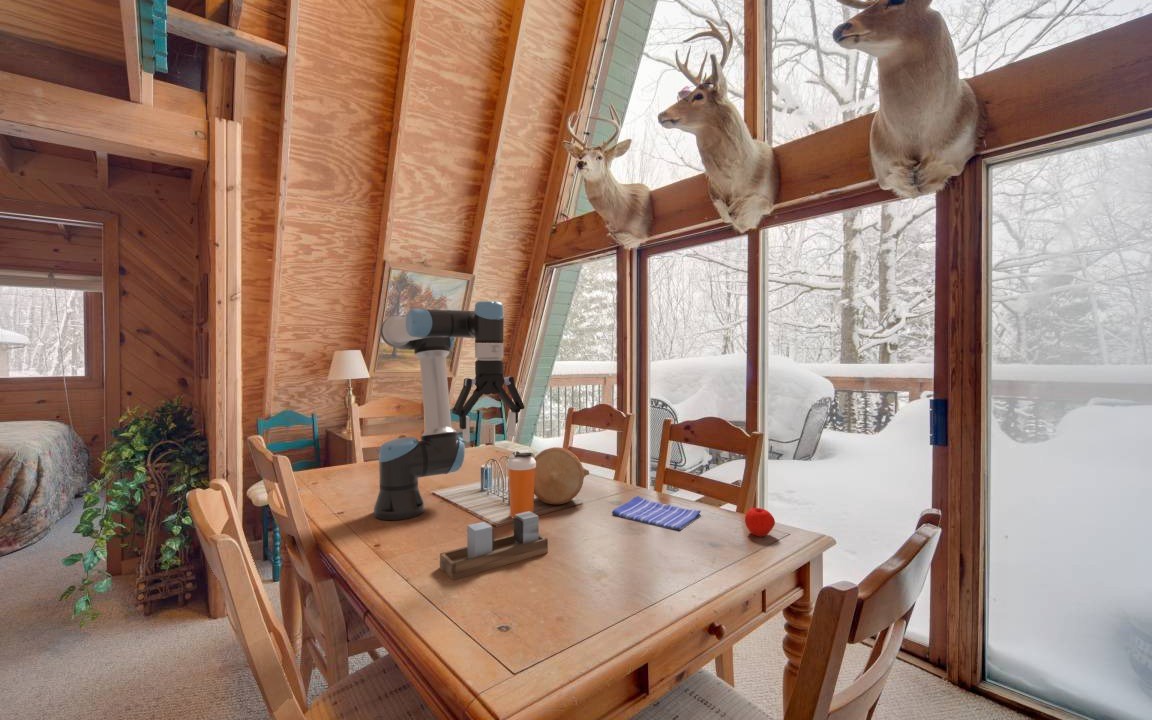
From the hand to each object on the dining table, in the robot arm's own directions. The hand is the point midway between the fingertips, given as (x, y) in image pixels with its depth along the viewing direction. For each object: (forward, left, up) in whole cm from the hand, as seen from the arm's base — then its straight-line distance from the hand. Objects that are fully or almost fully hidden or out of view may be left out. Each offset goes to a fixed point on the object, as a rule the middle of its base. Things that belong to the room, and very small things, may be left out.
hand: (489, 438), depth 137 cm
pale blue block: (+10, -8, -27) cm, 30 cm away
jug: (-24, +39, -29) cm, 54 cm away
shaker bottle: (-14, +18, -29) cm, 37 cm away
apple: (+39, +65, -29) cm, 81 cm away
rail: (+10, -4, -29) cm, 31 cm away
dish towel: (+10, +53, -29) cm, 61 cm away
